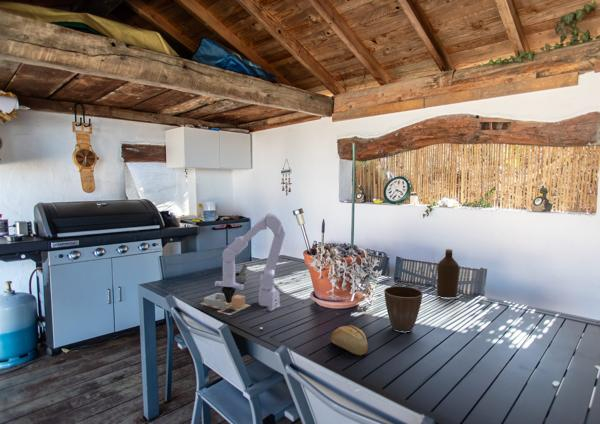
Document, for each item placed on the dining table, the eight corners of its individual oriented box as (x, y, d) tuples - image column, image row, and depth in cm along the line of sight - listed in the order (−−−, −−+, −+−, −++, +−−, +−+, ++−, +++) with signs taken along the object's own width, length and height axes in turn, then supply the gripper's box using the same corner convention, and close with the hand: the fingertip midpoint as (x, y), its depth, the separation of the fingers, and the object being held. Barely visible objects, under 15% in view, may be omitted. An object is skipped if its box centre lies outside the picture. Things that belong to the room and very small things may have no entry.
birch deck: (251, 308, 173) (251, 305, 173) (229, 318, 161) (229, 314, 161) (216, 300, 184) (216, 297, 184) (194, 308, 172) (194, 305, 172)
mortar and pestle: (236, 290, 201) (236, 268, 199) (226, 286, 207) (225, 265, 206) (252, 286, 209) (252, 265, 208) (242, 282, 215) (242, 262, 214)
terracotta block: (245, 305, 173) (245, 295, 172) (240, 308, 169) (240, 298, 168) (236, 304, 174) (236, 294, 174) (231, 307, 170) (231, 297, 170)
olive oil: (451, 301, 186) (453, 252, 184) (431, 296, 195) (434, 249, 192) (461, 297, 193) (464, 250, 191) (442, 292, 201) (444, 247, 199)
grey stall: (238, 302, 177) (238, 297, 177) (224, 308, 169) (224, 302, 168) (218, 297, 183) (217, 292, 183) (203, 303, 175) (203, 297, 175)
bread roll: (340, 338, 143) (341, 318, 142) (374, 351, 132) (375, 329, 132) (324, 346, 136) (325, 325, 135) (358, 360, 126) (359, 337, 125)
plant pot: (394, 339, 142) (396, 298, 140) (376, 324, 156) (377, 287, 155) (428, 335, 146) (430, 296, 144) (407, 321, 160) (409, 285, 159)
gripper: (247, 273, 173) (247, 302, 174) (220, 270, 179) (220, 297, 180) (239, 277, 167) (239, 306, 168) (211, 273, 172) (212, 302, 173)
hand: (229, 302), depth 173 cm, fingers closed
